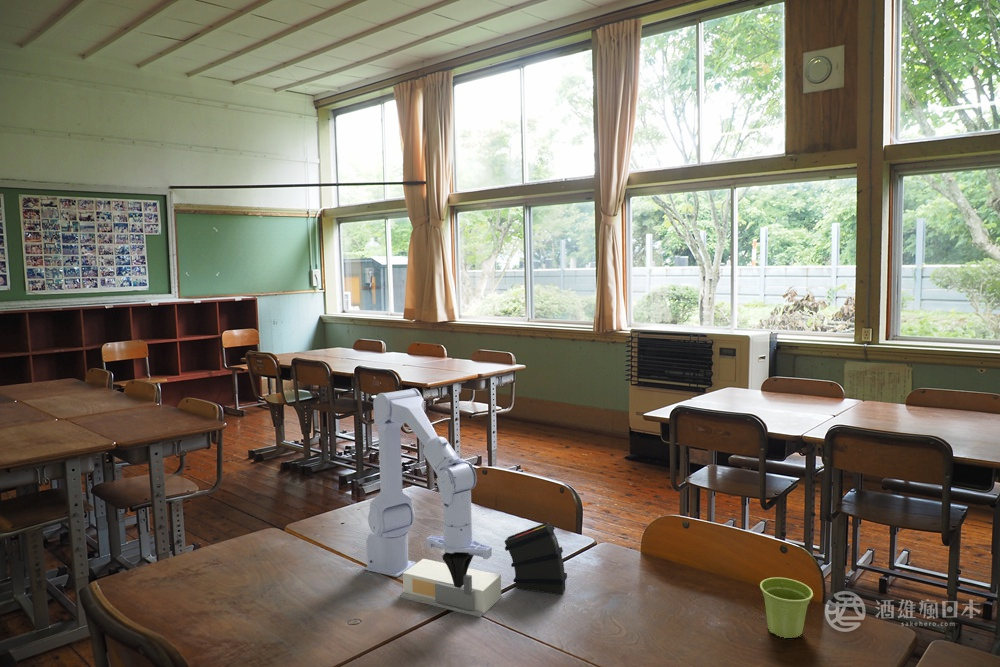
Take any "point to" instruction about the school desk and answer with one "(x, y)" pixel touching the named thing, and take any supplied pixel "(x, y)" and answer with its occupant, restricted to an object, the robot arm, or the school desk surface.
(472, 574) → the camera housing
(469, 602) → the side door
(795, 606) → the plant pot
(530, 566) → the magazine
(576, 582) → the school desk surface
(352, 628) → the school desk surface
